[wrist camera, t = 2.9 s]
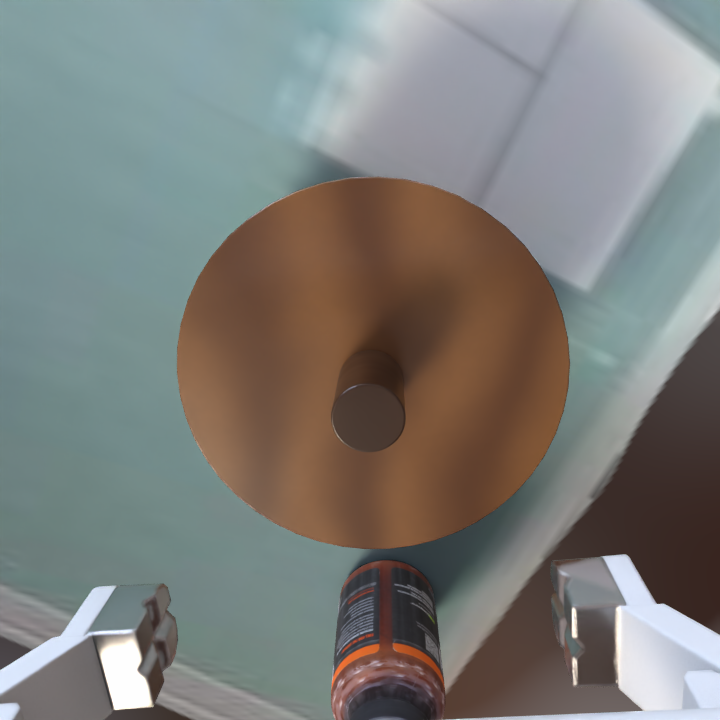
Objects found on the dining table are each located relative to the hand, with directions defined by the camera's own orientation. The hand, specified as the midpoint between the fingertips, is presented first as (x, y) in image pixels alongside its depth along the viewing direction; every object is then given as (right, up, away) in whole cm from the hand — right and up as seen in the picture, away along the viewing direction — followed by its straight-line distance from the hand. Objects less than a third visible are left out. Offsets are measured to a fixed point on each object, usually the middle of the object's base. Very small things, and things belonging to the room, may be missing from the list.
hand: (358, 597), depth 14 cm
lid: (+1, +4, +13) cm, 14 cm away
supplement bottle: (+2, -10, +28) cm, 30 cm away
